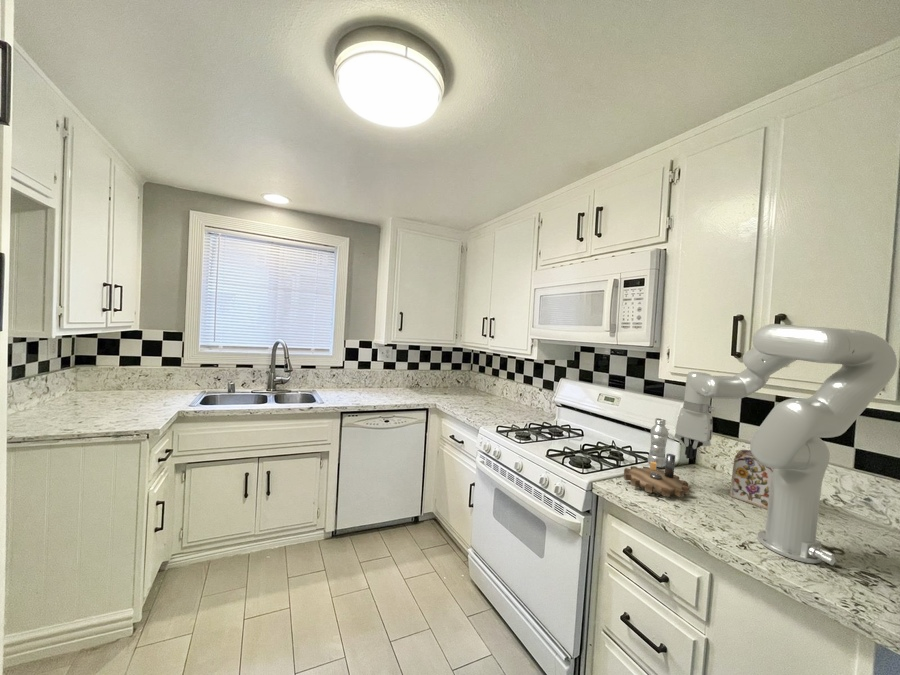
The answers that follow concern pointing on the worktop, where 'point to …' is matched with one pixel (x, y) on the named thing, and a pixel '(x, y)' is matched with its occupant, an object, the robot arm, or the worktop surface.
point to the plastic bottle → (658, 443)
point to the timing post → (653, 465)
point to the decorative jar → (750, 480)
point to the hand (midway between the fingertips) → (690, 457)
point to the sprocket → (658, 479)
